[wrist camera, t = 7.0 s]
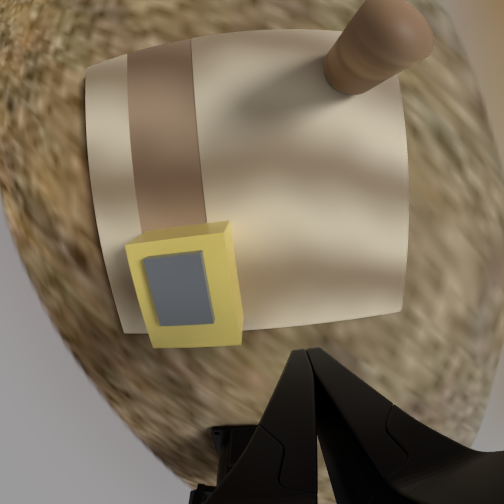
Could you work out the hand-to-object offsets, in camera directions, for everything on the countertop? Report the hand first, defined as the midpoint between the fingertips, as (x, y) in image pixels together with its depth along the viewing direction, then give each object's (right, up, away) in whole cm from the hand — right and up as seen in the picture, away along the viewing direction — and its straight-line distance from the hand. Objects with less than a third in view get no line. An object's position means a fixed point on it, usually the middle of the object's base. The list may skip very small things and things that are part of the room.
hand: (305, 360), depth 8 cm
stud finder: (-5, +2, +9) cm, 10 cm away
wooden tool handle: (+4, +13, +5) cm, 15 cm away
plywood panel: (-2, +7, +8) cm, 11 cm away
